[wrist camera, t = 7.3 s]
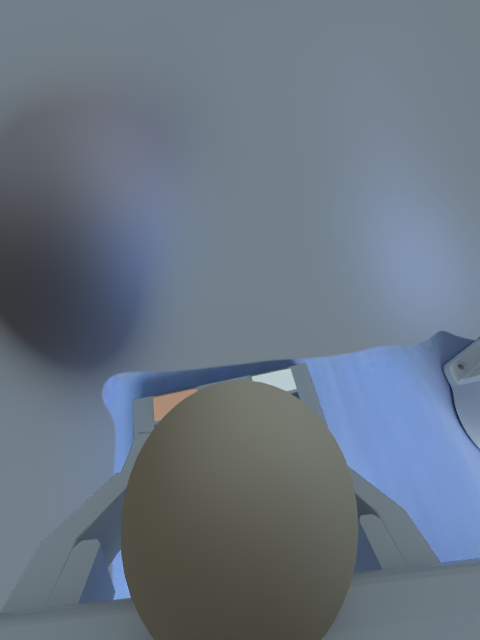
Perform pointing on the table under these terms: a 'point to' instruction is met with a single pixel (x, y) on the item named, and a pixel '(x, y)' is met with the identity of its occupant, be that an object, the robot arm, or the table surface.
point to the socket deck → (287, 379)
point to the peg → (239, 519)
